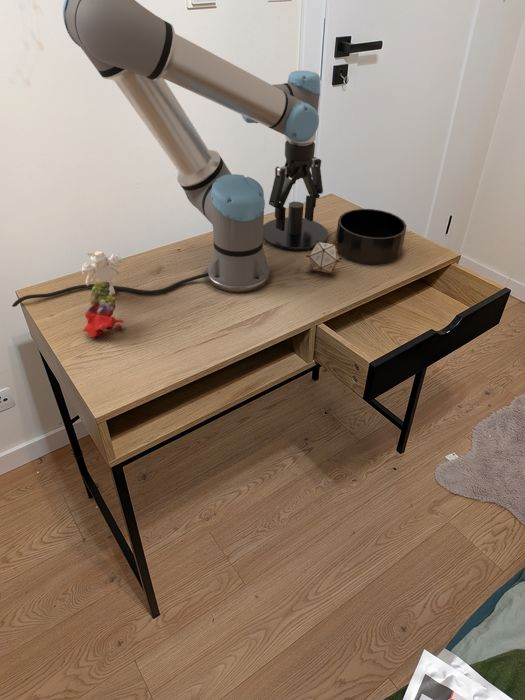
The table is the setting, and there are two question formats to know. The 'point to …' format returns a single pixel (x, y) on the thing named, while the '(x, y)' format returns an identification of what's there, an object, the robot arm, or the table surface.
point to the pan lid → (295, 230)
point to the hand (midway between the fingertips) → (294, 224)
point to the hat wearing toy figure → (102, 268)
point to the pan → (370, 236)
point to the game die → (324, 257)
